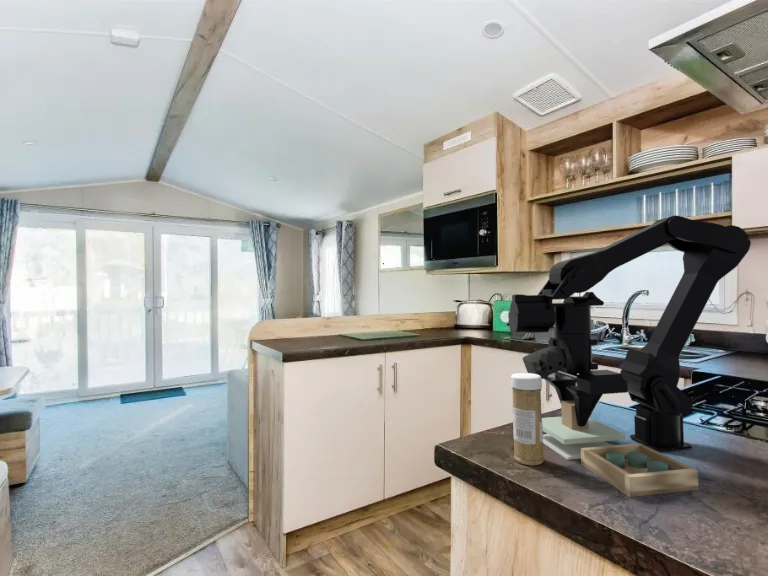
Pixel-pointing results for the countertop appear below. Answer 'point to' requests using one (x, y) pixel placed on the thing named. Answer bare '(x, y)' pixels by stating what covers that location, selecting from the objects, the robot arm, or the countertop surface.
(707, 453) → the countertop surface
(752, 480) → the countertop surface
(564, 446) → the mat
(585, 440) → the lid
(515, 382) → the sprinkles bottle
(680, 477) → the box
